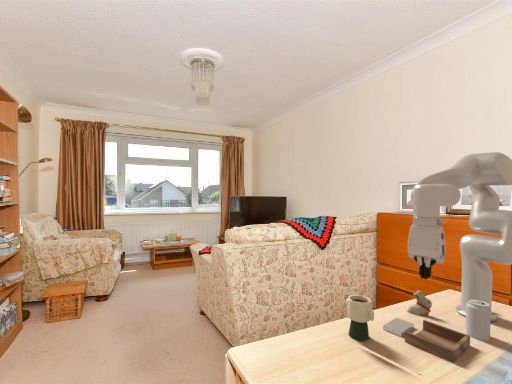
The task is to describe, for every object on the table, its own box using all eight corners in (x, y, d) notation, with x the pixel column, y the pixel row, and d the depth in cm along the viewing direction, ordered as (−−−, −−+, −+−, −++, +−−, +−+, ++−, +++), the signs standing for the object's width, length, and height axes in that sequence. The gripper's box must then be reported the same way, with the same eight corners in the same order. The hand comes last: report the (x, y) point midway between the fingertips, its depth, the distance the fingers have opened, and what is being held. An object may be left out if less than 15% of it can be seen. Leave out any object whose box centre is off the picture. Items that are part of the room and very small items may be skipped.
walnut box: (424, 331, 97) (424, 319, 97) (469, 348, 86) (470, 335, 86) (404, 344, 88) (405, 332, 88) (453, 365, 78) (453, 351, 78)
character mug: (380, 344, 88) (381, 303, 88) (364, 350, 84) (365, 307, 84) (353, 329, 97) (354, 291, 97) (338, 333, 94) (339, 294, 94)
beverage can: (494, 344, 89) (495, 307, 89) (471, 342, 90) (472, 305, 90) (482, 334, 95) (483, 299, 95) (461, 332, 97) (462, 297, 97)
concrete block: (396, 323, 102) (396, 317, 102) (414, 329, 97) (414, 324, 97) (382, 331, 95) (383, 325, 95) (401, 338, 91) (401, 332, 91)
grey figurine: (427, 321, 104) (428, 294, 104) (405, 314, 110) (405, 288, 110) (432, 317, 108) (433, 291, 108) (410, 310, 114) (411, 285, 114)
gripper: (456, 223, 88) (455, 281, 89) (407, 219, 100) (406, 270, 100) (448, 225, 84) (447, 286, 84) (397, 220, 95) (396, 274, 96)
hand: (425, 277), depth 92 cm, fingers closed
